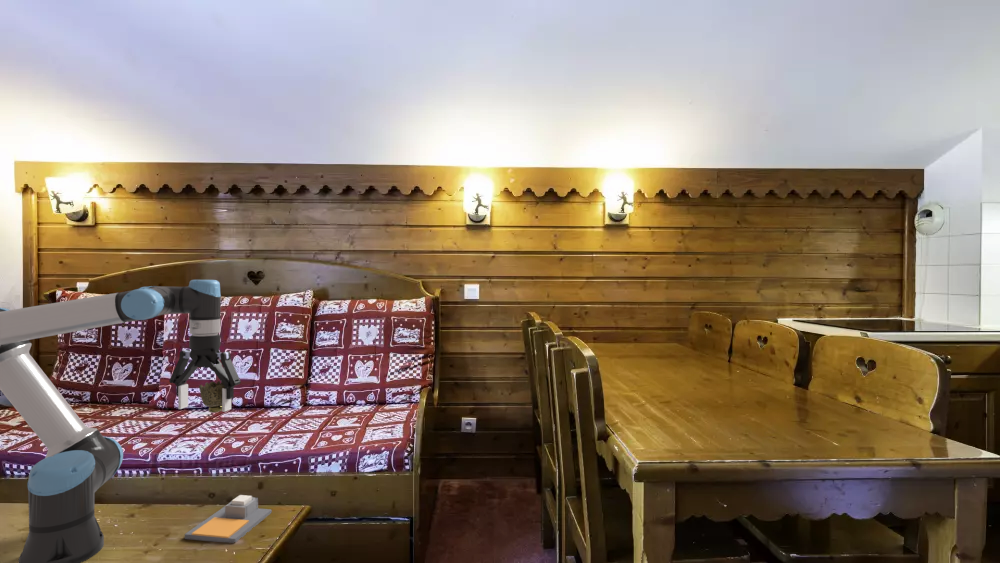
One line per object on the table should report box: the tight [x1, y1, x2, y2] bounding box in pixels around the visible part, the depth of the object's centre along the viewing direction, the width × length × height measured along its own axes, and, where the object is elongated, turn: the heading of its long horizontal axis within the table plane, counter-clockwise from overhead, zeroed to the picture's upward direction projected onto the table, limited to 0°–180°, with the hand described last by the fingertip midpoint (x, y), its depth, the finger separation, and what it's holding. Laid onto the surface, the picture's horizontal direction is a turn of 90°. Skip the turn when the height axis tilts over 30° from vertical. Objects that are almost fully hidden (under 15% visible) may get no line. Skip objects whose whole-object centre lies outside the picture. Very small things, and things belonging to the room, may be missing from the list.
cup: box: [198, 380, 225, 414], centre depth 136 cm, size 8×7×8 cm
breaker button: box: [231, 494, 253, 506], centre depth 133 cm, size 4×3×3 cm
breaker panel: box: [184, 496, 272, 544], centre depth 128 cm, size 14×15×4 cm
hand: (204, 409), depth 136 cm, fingers open, 13 cm apart
